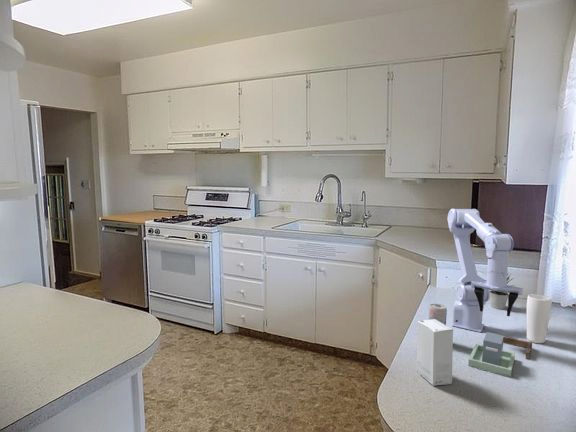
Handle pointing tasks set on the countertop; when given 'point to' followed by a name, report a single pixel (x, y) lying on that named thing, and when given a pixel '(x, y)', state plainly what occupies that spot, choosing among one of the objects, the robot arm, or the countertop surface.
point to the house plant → (499, 297)
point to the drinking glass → (537, 317)
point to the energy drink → (438, 313)
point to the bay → (519, 344)
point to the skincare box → (434, 351)
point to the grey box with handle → (492, 348)
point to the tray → (503, 369)
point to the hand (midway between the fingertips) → (494, 313)
